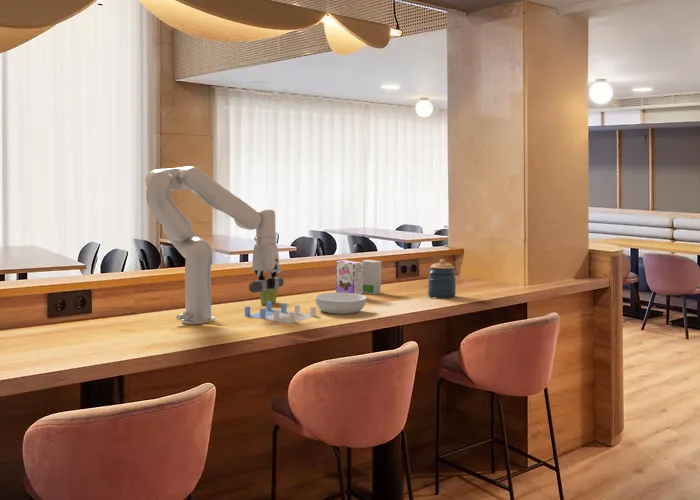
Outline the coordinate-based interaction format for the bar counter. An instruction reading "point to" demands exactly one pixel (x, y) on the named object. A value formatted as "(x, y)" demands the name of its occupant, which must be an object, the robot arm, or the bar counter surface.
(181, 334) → the bar counter surface
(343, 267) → the candy box
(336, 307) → the serving bowl
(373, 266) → the skincare box
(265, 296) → the plant pot
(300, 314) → the blue grey peg board
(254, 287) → the dark grey rounded bar
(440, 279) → the canister
